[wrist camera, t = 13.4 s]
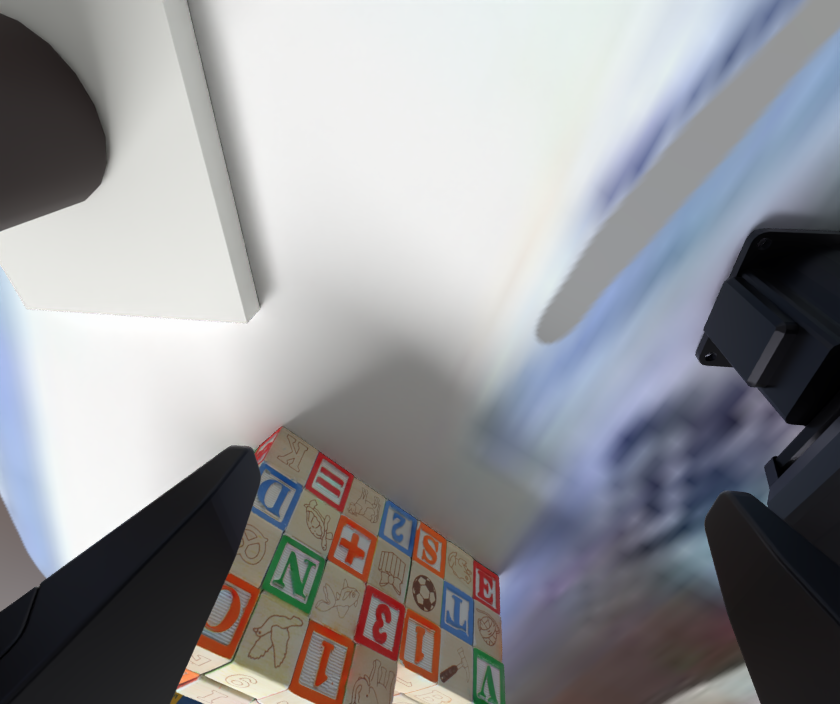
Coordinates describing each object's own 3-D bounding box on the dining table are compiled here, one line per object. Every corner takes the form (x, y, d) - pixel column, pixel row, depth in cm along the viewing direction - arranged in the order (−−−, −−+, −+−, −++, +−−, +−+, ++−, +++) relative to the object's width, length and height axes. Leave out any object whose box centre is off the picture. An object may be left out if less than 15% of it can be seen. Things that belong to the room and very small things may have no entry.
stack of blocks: (502, 573, 34) (511, 790, 24) (446, 595, 37) (433, 796, 27) (281, 422, 27) (163, 637, 17) (234, 464, 30) (110, 668, 20)
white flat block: (151, -146, 13) (117, -168, 12) (260, 309, 22) (246, 324, 21) (-181, -131, 14) (-246, -150, 13) (50, 296, 23) (25, 309, 22)
